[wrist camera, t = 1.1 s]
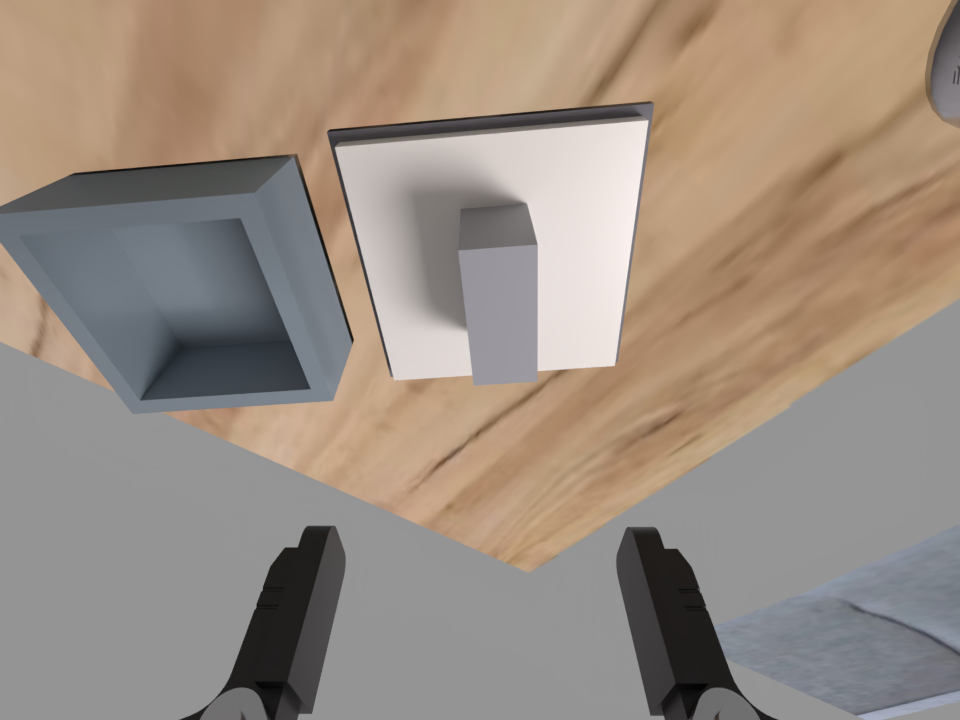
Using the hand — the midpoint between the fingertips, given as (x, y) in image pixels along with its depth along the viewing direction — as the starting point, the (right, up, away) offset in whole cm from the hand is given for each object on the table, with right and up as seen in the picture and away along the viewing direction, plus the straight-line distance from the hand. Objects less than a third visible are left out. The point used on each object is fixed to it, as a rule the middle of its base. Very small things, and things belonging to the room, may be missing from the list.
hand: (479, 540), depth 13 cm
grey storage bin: (-15, +11, +15) cm, 24 cm away
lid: (+1, +11, +15) cm, 18 cm away
